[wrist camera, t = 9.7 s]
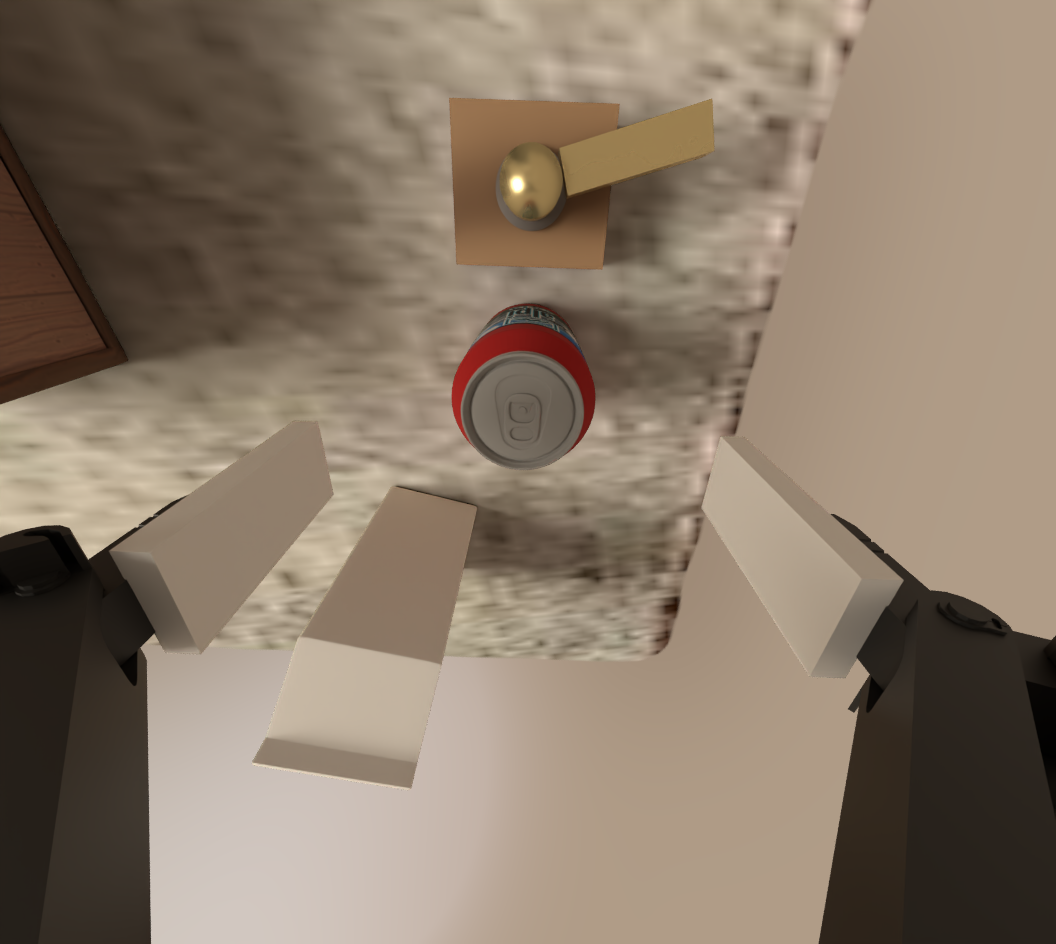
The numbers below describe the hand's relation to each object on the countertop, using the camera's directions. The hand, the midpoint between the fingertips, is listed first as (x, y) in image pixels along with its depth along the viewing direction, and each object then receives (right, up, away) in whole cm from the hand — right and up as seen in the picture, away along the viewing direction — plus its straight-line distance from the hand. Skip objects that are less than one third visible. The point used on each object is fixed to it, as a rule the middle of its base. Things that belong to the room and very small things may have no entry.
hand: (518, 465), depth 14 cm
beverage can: (0, +8, +15) cm, 17 cm away
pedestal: (+1, +16, +10) cm, 19 cm away
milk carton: (-8, -5, +22) cm, 24 cm away
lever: (+4, +14, +6) cm, 16 cm away
